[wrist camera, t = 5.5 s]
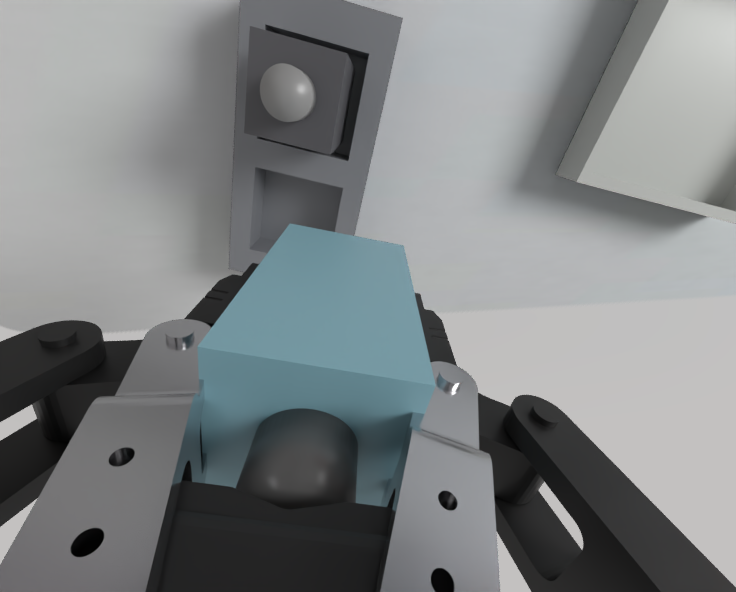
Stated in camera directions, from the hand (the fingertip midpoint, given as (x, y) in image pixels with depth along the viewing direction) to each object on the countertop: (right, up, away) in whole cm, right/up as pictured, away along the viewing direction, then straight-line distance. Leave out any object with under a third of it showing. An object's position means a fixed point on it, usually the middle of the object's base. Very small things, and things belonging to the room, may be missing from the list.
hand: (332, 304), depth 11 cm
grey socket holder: (-3, +10, +12) cm, 16 cm away
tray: (+22, +13, +10) cm, 27 cm away
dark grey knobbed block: (-2, +12, +10) cm, 16 cm away
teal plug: (0, +1, +2) cm, 2 cm away
